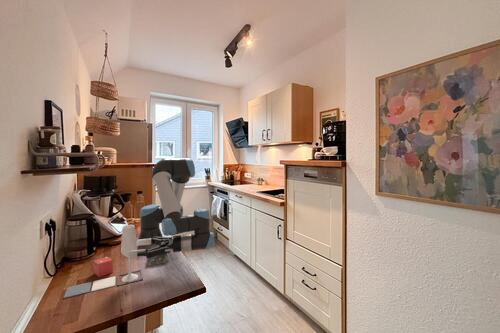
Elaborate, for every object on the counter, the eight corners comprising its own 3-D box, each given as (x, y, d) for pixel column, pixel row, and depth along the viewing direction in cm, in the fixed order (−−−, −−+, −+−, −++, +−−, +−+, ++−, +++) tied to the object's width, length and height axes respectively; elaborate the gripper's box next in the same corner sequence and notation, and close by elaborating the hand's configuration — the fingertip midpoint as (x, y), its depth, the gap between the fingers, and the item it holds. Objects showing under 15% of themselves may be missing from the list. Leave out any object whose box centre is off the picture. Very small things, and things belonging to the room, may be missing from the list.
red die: (108, 268, 112) (108, 255, 112) (112, 272, 108) (112, 258, 108) (94, 273, 107) (93, 259, 107) (98, 277, 104) (97, 263, 103)
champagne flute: (118, 281, 100) (116, 228, 99) (128, 273, 107) (127, 223, 106) (131, 282, 99) (129, 228, 98) (141, 274, 105) (139, 224, 105)
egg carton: (168, 257, 124) (167, 250, 124) (168, 263, 117) (167, 255, 117) (147, 260, 121) (146, 253, 120) (145, 267, 114) (145, 259, 113)
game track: (141, 270, 110) (141, 269, 110) (142, 280, 101) (142, 279, 101) (68, 287, 96) (68, 286, 96) (62, 299, 87) (62, 298, 87)
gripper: (180, 262, 96) (125, 269, 90) (182, 241, 120) (139, 246, 114) (180, 245, 95) (125, 251, 90) (182, 227, 119) (139, 231, 114)
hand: (133, 248), depth 102 cm, fingers open, 13 cm apart
